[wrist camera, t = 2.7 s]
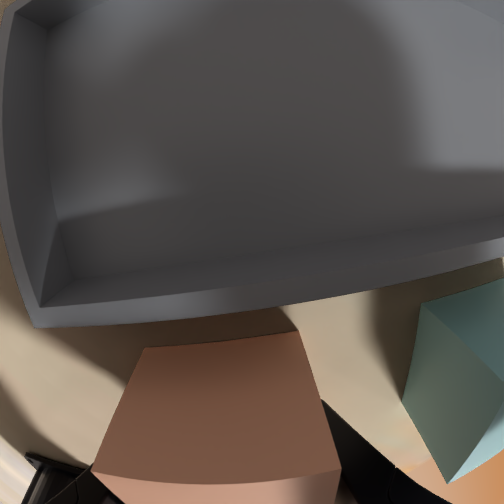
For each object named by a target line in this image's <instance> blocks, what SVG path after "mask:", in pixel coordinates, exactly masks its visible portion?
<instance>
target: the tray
mask: <svg viewBox="0 0 504 504" xmlns="http://www.w3.org/2000/svg"><path fill="white" fill-rule="evenodd" d="M0 223H1V228H2V232H3V236H4V240H5V244H6V248H7V252H8V256H9V259H10V263H11V266H12V269H13V273H14V276H15V279H16V282H17V285H18V288H19V291H20V293H21V296H22V299H23V302H24V304H25V307H26V309H27V312H28V314H29V317H30V319H31V322H32V324H33V326H34V328H58V327H84V326H102V325H118V324H132V323H144V322H156V321H166V320H177V319H186V318H195V317H204V316H212V315H221V314H228V313H236V312H243V311H251V310H258V309H265V308H271V307H278V306H284V305H290V304H296V303H302V302H308V301H314V300H320V299H325V298H331V297H336V296H342V295H347V294H352V293H357V292H362V291H367V290H372V289H377V288H381V287H386V286H391V285H395V284H400V283H404V282H408V281H413V280H417V279H421V278H425V277H430V276H434V275H438V274H442V273H446V272H450V271H453V270H457V269H461V268H465V267H468V266H472V265H476V264H479V263H483V262H486V261H490V260H493V259H497V258H500V257H503V256H504V0H16V1H15V2H13V3H12V4H11V5H9V6H8V7H7V8H6V9H5V10H4V14H3V18H2V22H1V26H0Z"/></svg>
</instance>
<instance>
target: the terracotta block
mask: <svg viewBox="0 0 504 504" xmlns="http://www.w3.org/2000/svg"><path fill="white" fill-rule="evenodd" d="M341 469H342V468H341V464H340V461H339V458H338V454H337V451H336V448H335V444H334V441H333V438H332V434H331V431H330V428H329V425H328V421H327V418H326V415H325V412H324V408H323V405H322V402H321V399H320V396H319V392H318V389H317V386H316V383H315V380H314V377H313V373H312V370H311V367H310V364H309V361H308V358H307V355H306V352H305V349H304V346H303V342H302V339H301V336H300V333H299V330H298V331H292V332H286V333H280V334H273V335H267V336H260V337H253V338H245V339H237V340H229V341H220V342H211V343H201V344H190V345H178V346H164V347H147V348H144V350H143V352H142V354H141V356H140V358H139V361H138V363H137V365H136V367H135V369H134V371H133V373H132V375H131V378H130V380H129V382H128V384H127V386H126V388H125V391H124V393H123V395H122V397H121V399H120V402H119V404H118V406H117V408H116V411H115V413H114V415H113V418H112V420H111V422H110V424H109V427H108V429H107V432H106V434H105V436H104V439H103V441H102V444H101V446H100V448H99V451H98V453H97V456H96V458H95V461H94V463H93V466H92V468H91V472H92V473H93V474H94V475H95V476H96V477H97V478H98V479H99V480H100V481H101V482H102V483H103V484H104V485H105V486H106V487H107V488H108V489H109V490H111V491H112V492H113V493H114V494H115V495H116V496H117V497H118V498H119V499H121V500H122V501H123V502H124V503H125V504H334V502H335V498H336V493H337V489H338V484H339V479H340V474H341Z"/></svg>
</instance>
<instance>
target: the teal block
mask: <svg viewBox="0 0 504 504" xmlns="http://www.w3.org/2000/svg"><path fill="white" fill-rule="evenodd" d="M401 402H402V404H403V406H404V407H405V409H406V411H407V412H408V414H409V416H410V418H411V419H412V421H413V423H414V424H415V426H416V428H417V430H418V432H419V433H420V435H421V437H422V439H423V440H424V442H425V444H426V446H427V448H428V449H429V451H430V453H431V455H432V457H433V459H434V460H435V462H436V464H437V466H438V468H439V470H440V472H441V473H442V475H443V477H444V479H445V481H446V483H447V484H449V483H451V482H452V481H454V480H456V479H458V478H460V477H462V476H463V475H465V474H467V473H468V472H470V471H472V470H473V469H475V468H476V467H478V466H480V465H481V464H482V463H484V462H486V461H487V460H489V459H490V458H492V457H493V456H494V455H496V454H497V453H499V452H500V451H502V449H504V278H501V279H498V280H496V281H493V282H490V283H487V284H484V285H481V286H478V287H475V288H472V289H469V290H465V291H462V292H459V293H456V294H452V295H449V296H446V297H442V298H439V299H435V300H432V301H428V302H424V303H421V307H420V315H419V321H418V328H417V334H416V340H415V345H414V350H413V355H412V360H411V365H410V369H409V374H408V378H407V382H406V386H405V390H404V394H403V397H402V401H401Z"/></svg>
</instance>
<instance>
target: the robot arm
mask: <svg viewBox="0 0 504 504" xmlns="http://www.w3.org/2000/svg"><path fill="white" fill-rule="evenodd" d="M321 402H322V405H323V408H324V412H325V415H326V418H327V421H328V425H329V428H330V431H331V434H332V438H333V441H334V444H335V448H336V451H337V454H338V458H339V461H340V464H341V468H342V469H341V474H340V479H339V484H338V489H337V493H336V498H335V502H334V504H452V503H450V502H447V501H446V500H444V499H442V498H441V497H439V496H437V495H435V494H433V493H432V492H430V491H429V490H427V489H425V488H423V487H422V486H421V485H419V484H418V483H416V482H415V481H414V480H412V479H411V478H409V477H408V476H407V475H406V474H405V473H403V472H402V471H401V470H400V469H399V468H397V467H396V468H395V465H394V464H393V463H391V462H390V461H389V460H388V459H387V458H386V457H385V456H383V455H382V454H381V453H380V452H379V451H378V450H377V449H375V448H374V447H373V446H372V445H371V444H370V443H369V442H368V441H366V440H365V439H364V438H363V437H362V436H361V435H360V434H359V433H358V432H357V431H355V430H354V429H353V428H352V427H351V426H350V425H349V424H348V423H347V422H346V421H345V420H344V419H343V418H341V417H340V416H339V415H338V414H337V413H336V412H335V411H334V410H333V409H332V408H331V407H330V406H329V405H328V404H327V403H326V402H325V401H324V400H322V399H321ZM24 457H25V459H26V460H27V461H28V462H29V463H30V464H31V465H32V466H33V467H34V468H35V469H36V470H37V471H36V473H35V475H34V477H33V479H32V482H31V484H30V486H29V488H28V490H27V492H26V494H25V497H24V499H23V501H22V503H21V504H125V503H124V502H123V501H122V500H121V499H119V498H118V497H117V496H116V495H115V494H114V493H113V492H112V491H111V490H109V489H108V488H107V487H106V486H105V485H104V484H103V483H102V482H101V481H100V480H99V479H98V478H97V477H96V476H95V475H94V474H93V473H92V472H91V468H92V466H93V463H92V464H91V465H90V466H89V467H88V468H87V469H86V470H81V469H77V468H74V467H70V466H67V465H63V464H60V463H57V462H54V461H51V460H48V459H45V458H42V457H39V456H36V455H34V454H31V453H28V452H26V454H25V456H24Z"/></svg>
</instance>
